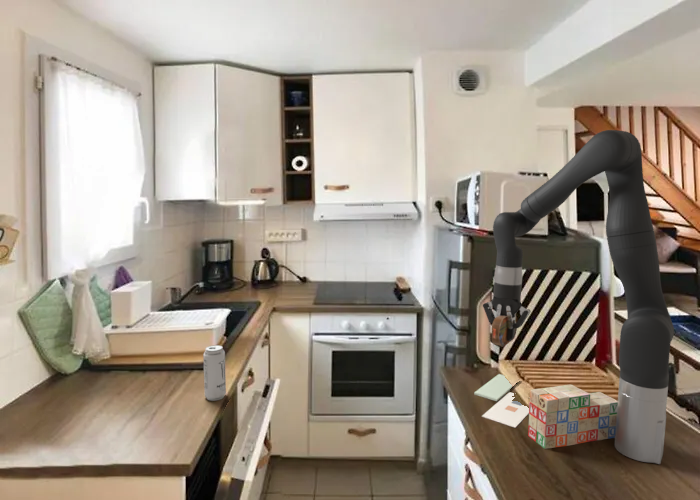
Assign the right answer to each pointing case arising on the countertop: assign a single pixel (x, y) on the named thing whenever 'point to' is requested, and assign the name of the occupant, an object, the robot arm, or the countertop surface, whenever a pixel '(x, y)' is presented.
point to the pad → (494, 388)
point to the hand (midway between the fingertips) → (504, 338)
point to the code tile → (507, 411)
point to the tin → (501, 330)
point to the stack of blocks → (570, 416)
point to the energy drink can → (214, 372)
